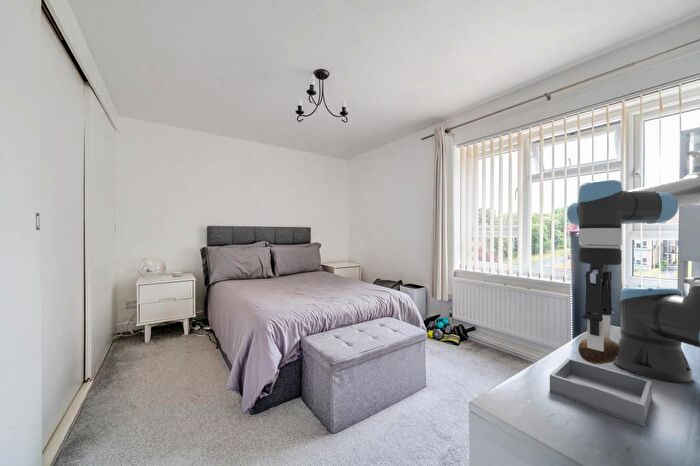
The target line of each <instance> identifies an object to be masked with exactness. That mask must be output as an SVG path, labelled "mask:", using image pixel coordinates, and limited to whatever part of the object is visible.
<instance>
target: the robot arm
mask: <svg viewBox="0 0 700 466" xmlns="http://www.w3.org/2000/svg"><path fill="white" fill-rule="evenodd" d="M578 190H579V191H578V200H577V201H575V202H573V203H571V204H570V205H569V206H568V207H567V211H566V215H567V220H568V221H569V222H570V224H572V225H574V226H577V227H578V232H577V233H575V237H577V238H578V245H580V246H581V247H579V248H578V262H579V263H581V264H589V265H590V266H589V271H586V273H585V275H584V277H585V304H584V305H585V306H584V307H585V308H584V315H582V319H584V320H587V322H586V323H587V325H586V326H587V327H586V333H587V334H586V336H587V337H586V338H587V348H591V349H595V350H599V351H604V338H606V339H610V340H611V316H615V314H616V313H615V311H613V305H612V279H613V272H612V271H611V270H609V266H620V265H621V264H622V261H623V260H622V259H623V257H622V254H623V253H622V252H623V251H622V250H621V248H619V247H622V245H623V228H622V227H623V226H622V225H623V224H624V225H625V224H627V225H628V224H653V225H654V224H661V223H662V224H663V223H666V222H668V221H670V220H672V219H673V218H674V217H675V216H676V215H677V213H678V210H679V208H680V207H685V206H690V205H693V206H700V171H697V172H691V173H689V174H686V175H685V176H684V177H682V178H680V179H676V180H671V181H667V182H662V183H657V184H654V185H649V186H644V187H638V188H635V189H631V190H624V188H623V187H622V182H621V181H619V180H618V179H617V180H616V179H600V180H594V181H593V180H592V181H587V182H584V183H582V184H581V185H580V186H579V189H578ZM682 294H683V293H682V292H681V289H679V288H670V287H667V288H666V287H639V286H638V287H635V286H634V287H633V286H631V287H630V286H629V287H623V288H622V289H621V291H620V297H619V298H620V299H619V319H620V323H619V324H620V326H619V327H620V336H619V339H618V341H617V342H616V343H617V344H618V346H619V349H620V350H619V353H618V356H617V359H616V360H615V361H613V362H612V363H614V364H615V365H616V366H618V367H620V368H621V369H624V370H626V371H628V372H630V373H634V374H638V375H640V376H643V377H647V378H651V379H654V380H660V381H664V382H671V383H672V382H673V383H690V382H692V380H693V371H692V369H691V366H690V364H689V362H688V359H687V357H686V355H685V353H684V351H683V348H682V344H686V345H690V346H693V347H695V348H700V284H693V285H692V286H691V288H690V290H689V291H688V293H687V295H685V296H684V295H682Z"/></svg>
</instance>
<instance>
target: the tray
mask: <svg viewBox="0 0 700 466" xmlns="http://www.w3.org/2000/svg"><path fill="white" fill-rule="evenodd" d="M652 382H653V381H652V380H649V379H644V378H642V377H638V376H634V375H632V374H627V373H623V372H620V371H617V370H613V369H609V368H605V367H602V366H598V365H596V364H592V363H589V362H584V361H580V360H577V359H574V358H570V357H568V358H566V359H565V360H564V361H562V363H561V364H560V365H559V366H558V367H556V368H555V369H554V370H553V371H552V372H551V373H550V374H549V392H550V393H551V394H555V395H556V396H557V395H558V396H561V397H562V398H566V399H568V400H571V401H574V402H576V403H579V404H582V405H585V406H587V407H590V408H593V409H595V410H598V411H601V412H603V413H606V414H609V415H612V416H614V417H617V418H620V419H622V420H625V421H628V422H631V423H632V424H633V423H634V424H636V425H638V426H641V427H645V426H646V423H647V419H648V416H649V415H648V414H649V411H650V407H651V404H652V399H653V395H652V394H653V389H652V387H653V385H652V384H653V383H652Z"/></svg>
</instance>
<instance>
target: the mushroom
mask: <svg viewBox="0 0 700 466" xmlns="http://www.w3.org/2000/svg"><path fill="white" fill-rule="evenodd" d="M617 343H618V342H616V341H614V340H611V338H610V339H606V338H604V351H599V350H595V349H591V348H587V337H586V338H584V339H582V340H581V341H580V343H579V345H578V350H577V351H578V354H579V355H580V357H581V358H582V359H583V360H584V361H585V362H586V363H588V364H592V365H605V364H610V363H614V362H613V361H615V360H616V359H617V356H618V353H619V350H620V349H619V346H618V344H617Z"/></svg>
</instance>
